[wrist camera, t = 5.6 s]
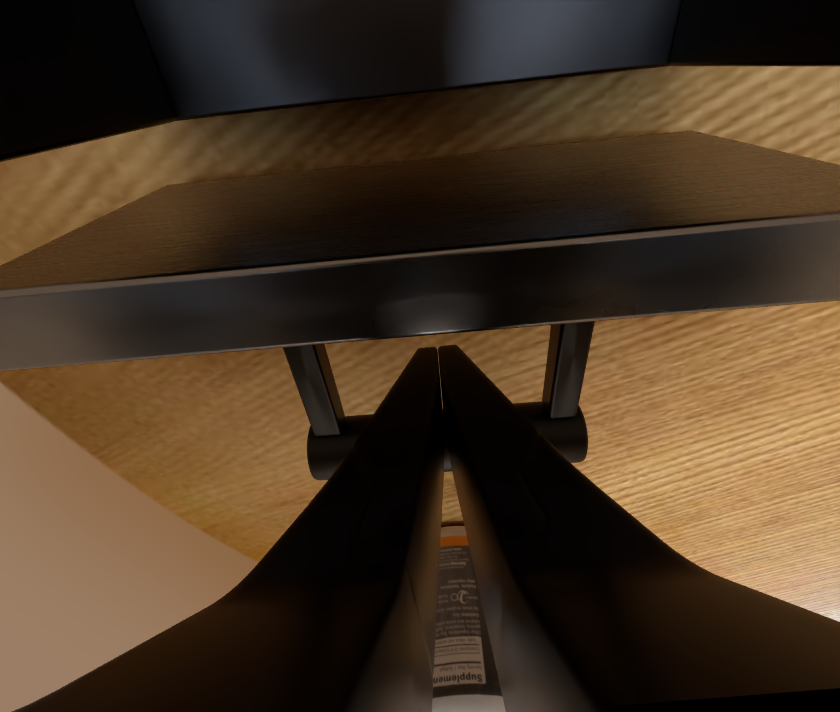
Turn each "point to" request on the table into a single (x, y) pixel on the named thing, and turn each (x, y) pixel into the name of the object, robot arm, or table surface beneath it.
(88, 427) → the table surface
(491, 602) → the robot arm
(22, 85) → the drawer
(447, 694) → the pill bottle
